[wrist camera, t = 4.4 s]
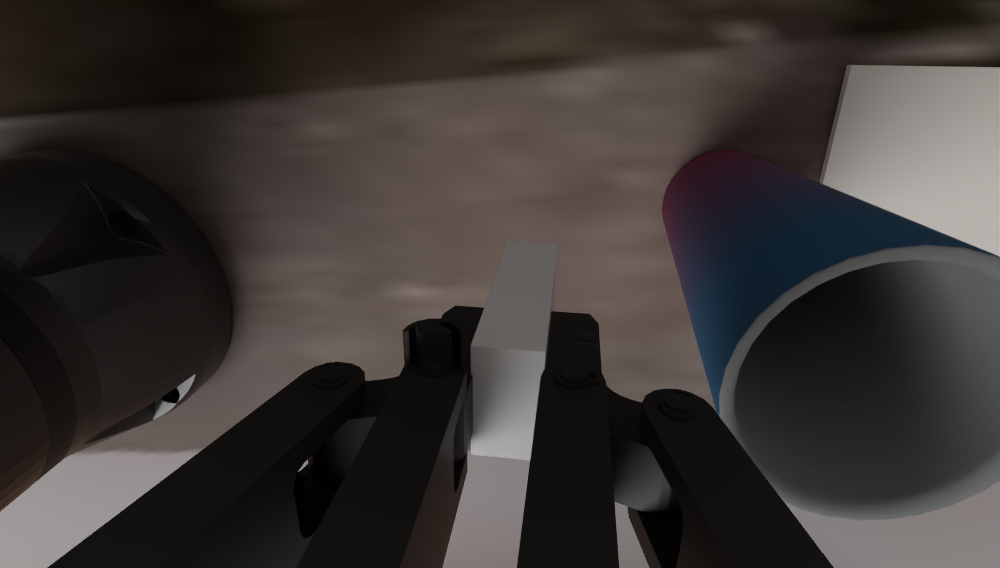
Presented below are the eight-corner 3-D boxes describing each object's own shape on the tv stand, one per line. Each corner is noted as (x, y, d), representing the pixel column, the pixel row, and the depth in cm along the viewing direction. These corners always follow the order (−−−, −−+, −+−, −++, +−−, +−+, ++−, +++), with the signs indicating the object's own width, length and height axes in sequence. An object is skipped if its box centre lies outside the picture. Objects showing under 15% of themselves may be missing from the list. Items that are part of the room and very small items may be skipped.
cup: (654, 287, 27) (735, 535, 14) (630, 149, 25) (699, 283, 11) (804, 259, 26) (1061, 504, 12) (794, 110, 24) (1099, 209, 10)
